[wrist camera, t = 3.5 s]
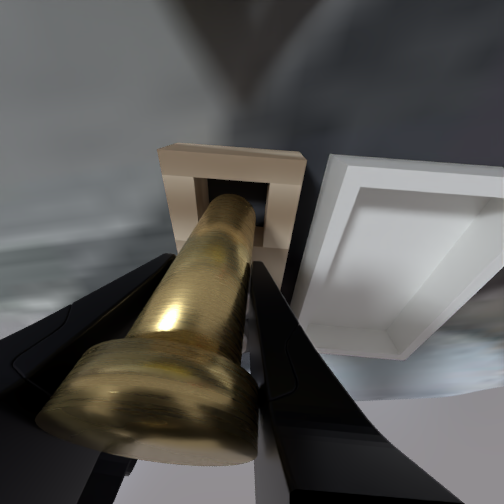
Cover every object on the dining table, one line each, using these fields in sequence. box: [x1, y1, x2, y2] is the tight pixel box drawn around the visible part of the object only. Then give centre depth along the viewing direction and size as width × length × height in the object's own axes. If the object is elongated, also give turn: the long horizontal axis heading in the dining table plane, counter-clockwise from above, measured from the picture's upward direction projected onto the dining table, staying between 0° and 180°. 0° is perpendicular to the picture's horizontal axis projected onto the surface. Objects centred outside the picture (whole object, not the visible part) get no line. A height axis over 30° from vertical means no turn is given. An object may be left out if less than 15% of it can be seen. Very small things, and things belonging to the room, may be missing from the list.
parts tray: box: [290, 154, 504, 361], centre depth 16 cm, size 18×12×4 cm, turn 177°
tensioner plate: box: [157, 143, 307, 354], centre depth 16 cm, size 18×8×5 cm, turn 177°
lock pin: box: [35, 194, 259, 466], centre depth 8 cm, size 4×4×10 cm
